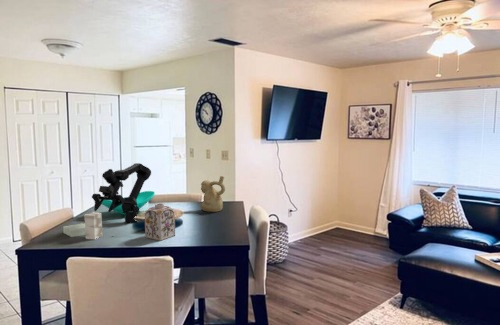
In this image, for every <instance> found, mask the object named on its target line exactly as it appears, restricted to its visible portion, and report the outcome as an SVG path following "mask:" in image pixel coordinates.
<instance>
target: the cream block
mask: <svg viewBox="0 0 500 325" xmlns="http://www.w3.org/2000/svg"><path fill="white" fill-rule="evenodd" d="M83 217H84V223H85V234H84V235H85V239H87V240H97V239H99V237H100V238H102V237H104V236H103V219H102V217H103V216H102V212H94V211H93V212H89V213H86V214H84V216H83ZM101 236H102V237H101ZM96 238H97V239H96Z"/></svg>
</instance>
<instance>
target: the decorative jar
mask: <svg viewBox="0 0 500 325" xmlns="http://www.w3.org/2000/svg"><path fill="white" fill-rule="evenodd" d="M175 219H176V216H175V211H174V209H173V208H171V206H168V205H165V204H164V203H162V202H160V203H154V206H152V207H149V208H148V209H147V210H146V211H145V213H144V236H145V239H151V240H155V241H156V240H157V241H159V242H160V241H161V242H162V241H163V240H166V239H167V240H168V238H172V237H174V236H176V220H175Z"/></svg>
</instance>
